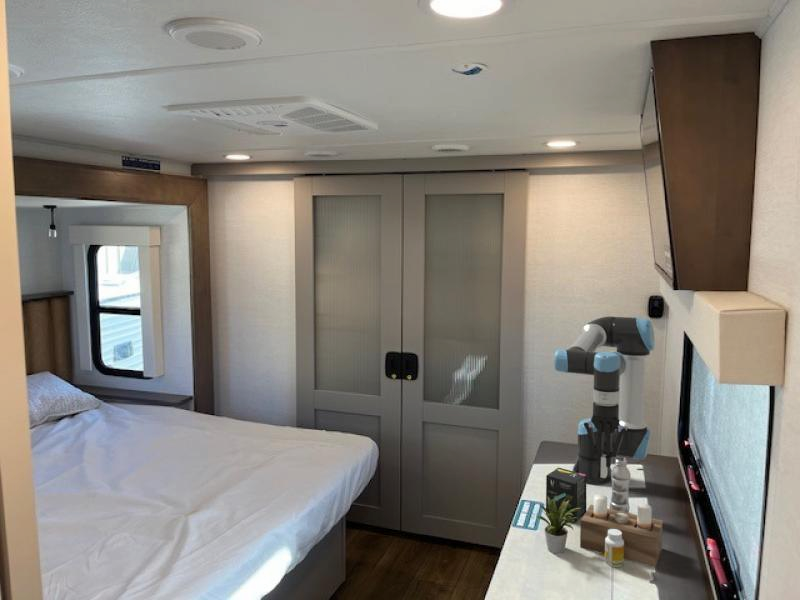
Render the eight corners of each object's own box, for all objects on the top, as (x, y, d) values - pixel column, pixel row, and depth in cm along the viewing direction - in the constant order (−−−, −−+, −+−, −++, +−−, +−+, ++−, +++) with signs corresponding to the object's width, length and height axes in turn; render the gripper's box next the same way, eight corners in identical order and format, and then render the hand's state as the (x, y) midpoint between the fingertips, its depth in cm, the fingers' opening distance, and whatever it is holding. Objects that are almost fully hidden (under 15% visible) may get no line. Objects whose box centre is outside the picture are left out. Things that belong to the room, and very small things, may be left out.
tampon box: (586, 514, 211) (587, 474, 209) (574, 524, 204) (575, 483, 202) (557, 505, 218) (558, 466, 217) (545, 514, 212) (545, 474, 210)
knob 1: (594, 523, 195) (595, 493, 194) (608, 526, 193) (608, 496, 192) (591, 528, 192) (592, 498, 190) (605, 532, 189) (605, 501, 188)
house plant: (573, 569, 178) (574, 516, 176) (527, 557, 185) (528, 506, 183) (584, 546, 191) (585, 496, 189) (541, 535, 198) (541, 488, 195)
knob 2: (637, 533, 188) (638, 502, 187) (651, 536, 186) (652, 505, 185) (635, 539, 185) (636, 508, 184) (649, 542, 183) (650, 511, 181)
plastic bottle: (606, 514, 211) (607, 459, 208) (615, 508, 215) (616, 454, 213) (624, 521, 206) (625, 464, 203) (632, 514, 211) (634, 458, 208)
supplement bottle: (626, 562, 181) (627, 531, 180) (618, 569, 178) (619, 538, 176) (609, 555, 185) (610, 525, 184) (601, 562, 182) (601, 532, 180)
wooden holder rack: (590, 530, 200) (590, 500, 199) (661, 548, 189) (663, 516, 187) (580, 547, 190) (580, 515, 189) (655, 567, 179) (656, 533, 177)
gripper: (581, 403, 187) (579, 476, 190) (625, 409, 181) (623, 484, 184) (587, 397, 194) (585, 468, 197) (630, 402, 187) (628, 476, 190)
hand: (603, 476), depth 190 cm, fingers closed
